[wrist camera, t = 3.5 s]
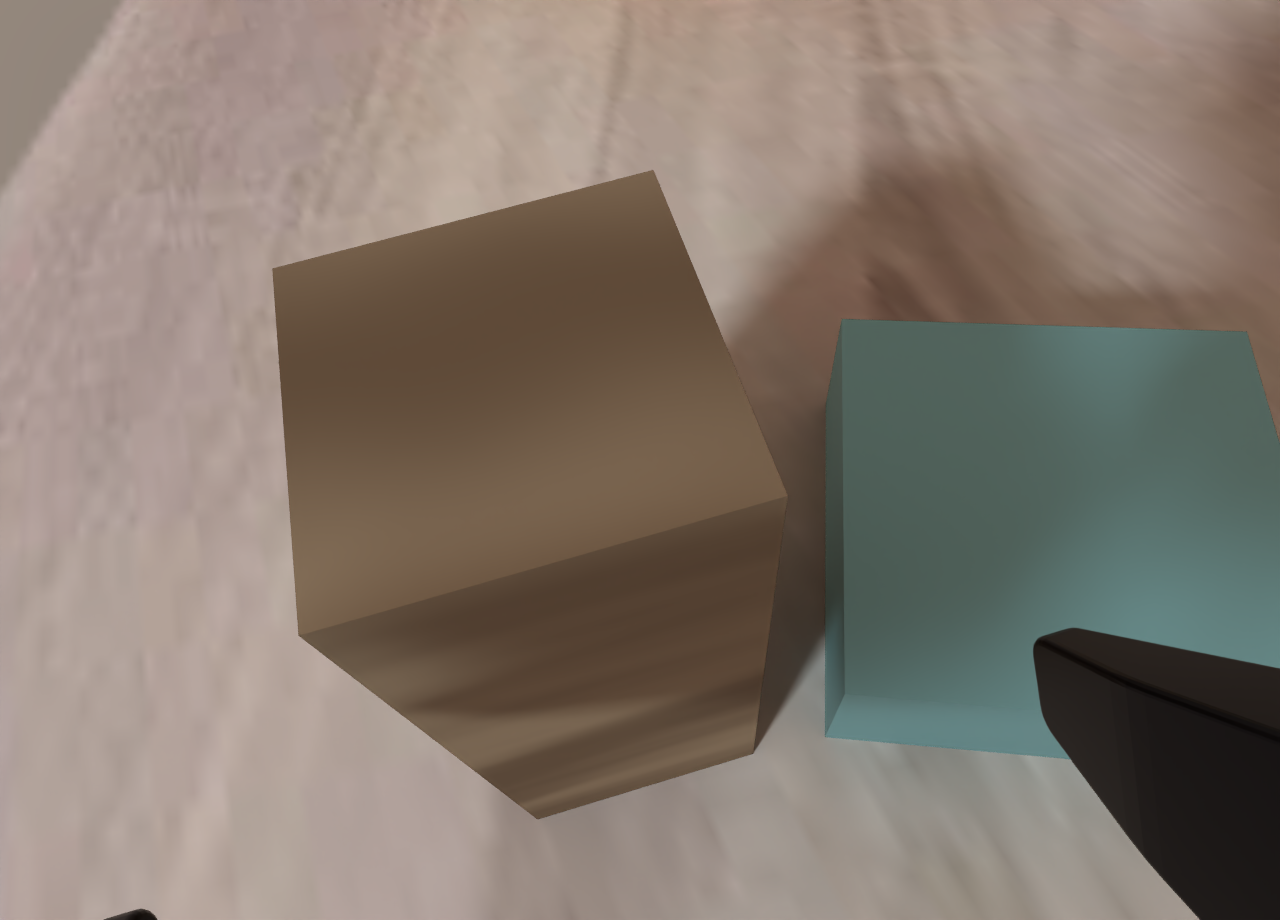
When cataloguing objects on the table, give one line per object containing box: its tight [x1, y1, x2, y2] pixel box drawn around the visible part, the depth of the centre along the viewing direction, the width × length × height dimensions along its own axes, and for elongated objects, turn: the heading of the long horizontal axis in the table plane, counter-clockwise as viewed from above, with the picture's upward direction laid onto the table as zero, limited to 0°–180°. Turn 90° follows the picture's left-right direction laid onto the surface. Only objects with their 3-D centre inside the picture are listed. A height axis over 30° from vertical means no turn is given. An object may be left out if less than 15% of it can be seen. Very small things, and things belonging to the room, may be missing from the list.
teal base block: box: [825, 319, 1280, 759], centre depth 20 cm, size 9×9×4 cm
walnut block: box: [272, 170, 788, 819], centre depth 15 cm, size 5×5×12 cm
